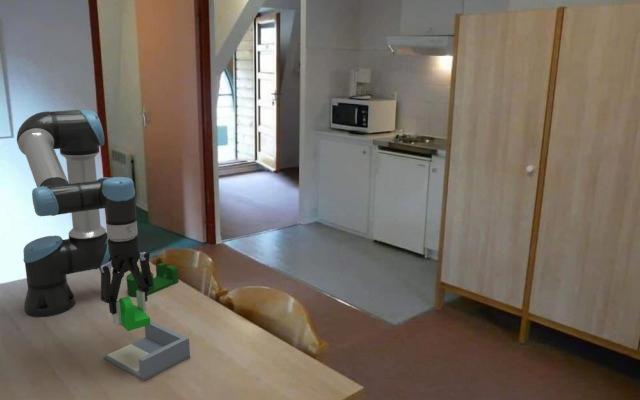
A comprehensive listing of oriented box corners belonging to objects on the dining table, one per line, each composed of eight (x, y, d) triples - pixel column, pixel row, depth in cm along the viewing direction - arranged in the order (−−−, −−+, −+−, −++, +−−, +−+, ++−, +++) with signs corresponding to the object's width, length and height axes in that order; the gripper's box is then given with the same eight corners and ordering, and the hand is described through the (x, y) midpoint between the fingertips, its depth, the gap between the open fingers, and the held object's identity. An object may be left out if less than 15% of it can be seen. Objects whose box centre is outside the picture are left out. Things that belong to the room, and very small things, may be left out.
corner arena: (104, 358, 150) (102, 339, 149) (150, 337, 162) (148, 319, 160) (144, 381, 140) (142, 360, 138) (190, 356, 151) (188, 338, 150)
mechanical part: (150, 324, 144) (148, 296, 142) (128, 331, 140) (125, 302, 138) (133, 309, 153) (131, 282, 151) (111, 315, 149) (109, 287, 147)
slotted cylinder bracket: (139, 299, 188) (137, 282, 186) (122, 293, 193) (120, 277, 191) (178, 283, 202) (177, 266, 201) (162, 277, 207) (161, 261, 206)
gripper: (95, 250, 131) (104, 336, 137) (163, 230, 146) (169, 309, 152) (79, 244, 135) (88, 328, 141) (146, 225, 151) (152, 302, 156)
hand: (130, 318), depth 146 cm, fingers closed on mechanical part, 7 cm apart
